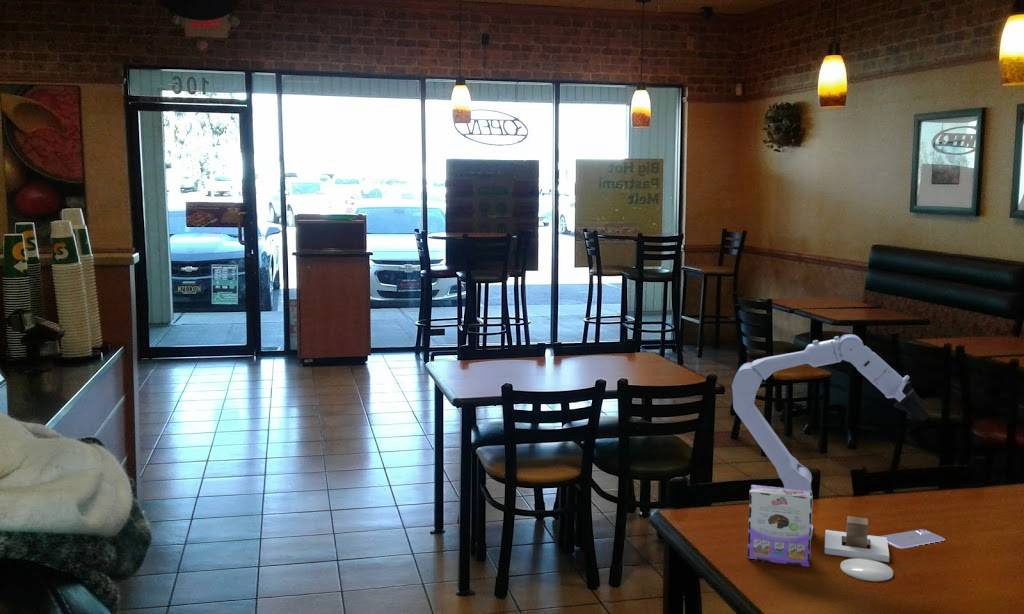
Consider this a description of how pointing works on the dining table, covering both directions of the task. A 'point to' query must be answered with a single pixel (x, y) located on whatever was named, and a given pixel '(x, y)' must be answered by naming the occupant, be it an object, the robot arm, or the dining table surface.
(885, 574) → the ceramic coaster
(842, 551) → the pocket plate
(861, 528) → the walnut block
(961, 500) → the dining table surface
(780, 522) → the candy box
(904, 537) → the mobile phone
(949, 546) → the dining table surface
